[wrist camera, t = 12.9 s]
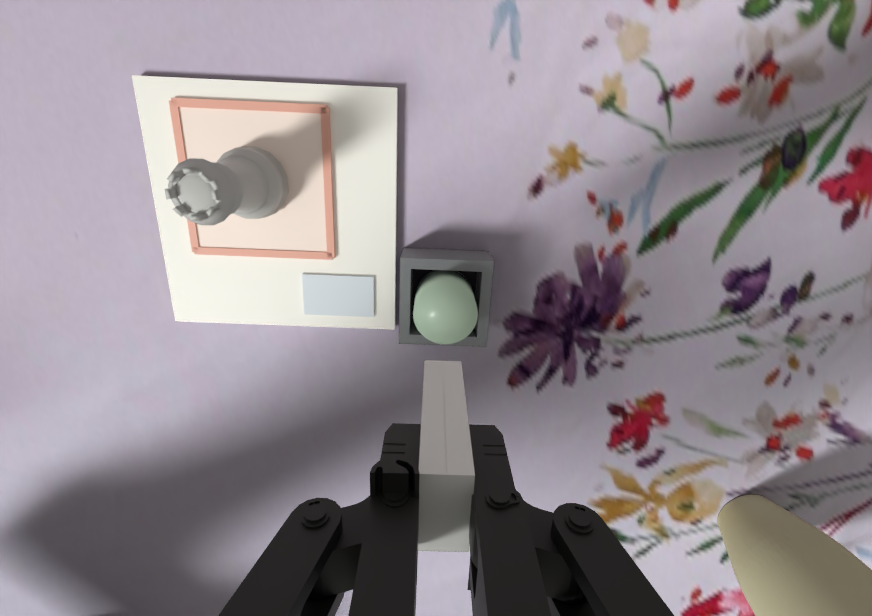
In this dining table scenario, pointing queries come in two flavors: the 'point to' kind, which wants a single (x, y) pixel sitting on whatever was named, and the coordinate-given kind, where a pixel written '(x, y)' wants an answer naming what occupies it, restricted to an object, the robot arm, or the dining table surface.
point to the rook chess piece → (228, 186)
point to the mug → (791, 563)
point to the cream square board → (304, 207)
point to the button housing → (452, 262)
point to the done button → (445, 307)
